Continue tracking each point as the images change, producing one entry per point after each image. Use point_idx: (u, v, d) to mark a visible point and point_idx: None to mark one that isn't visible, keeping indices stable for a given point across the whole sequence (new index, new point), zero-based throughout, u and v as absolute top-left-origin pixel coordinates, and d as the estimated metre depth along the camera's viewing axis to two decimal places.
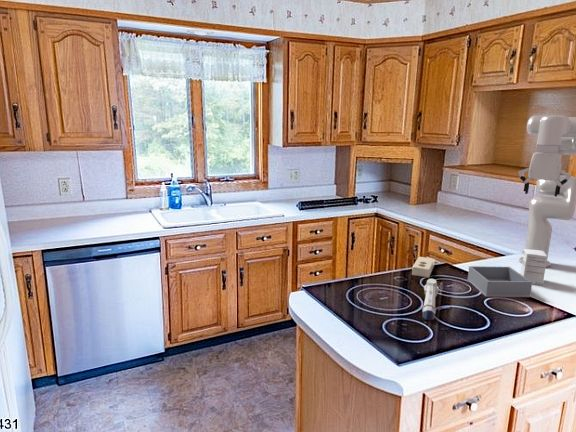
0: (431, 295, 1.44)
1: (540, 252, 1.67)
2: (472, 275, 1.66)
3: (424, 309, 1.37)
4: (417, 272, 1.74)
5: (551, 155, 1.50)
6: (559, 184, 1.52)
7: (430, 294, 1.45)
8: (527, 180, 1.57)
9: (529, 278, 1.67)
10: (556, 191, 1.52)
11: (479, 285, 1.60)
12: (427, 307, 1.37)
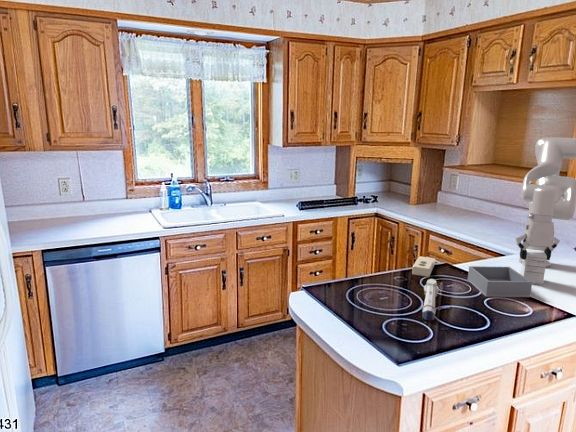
0: (431, 295, 1.44)
1: (540, 252, 1.67)
2: (472, 275, 1.66)
3: (424, 309, 1.37)
4: (417, 271, 1.75)
5: None
6: None
7: (430, 294, 1.45)
8: None
9: (529, 278, 1.67)
10: None
11: (479, 285, 1.60)
12: (427, 307, 1.37)
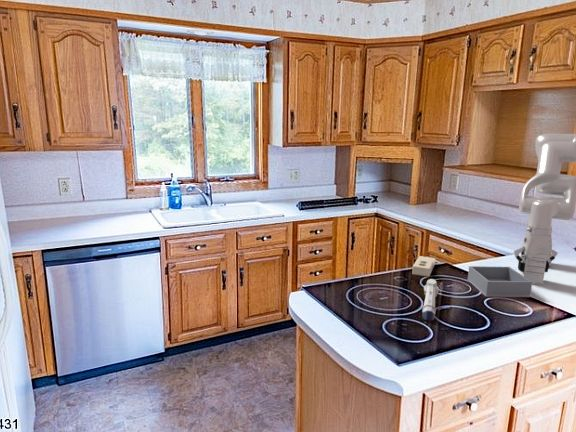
0: (431, 295, 1.44)
1: None
2: (472, 275, 1.66)
3: (424, 309, 1.37)
4: (417, 271, 1.75)
5: None
6: None
7: (430, 294, 1.45)
8: None
9: (529, 278, 1.67)
10: None
11: (479, 285, 1.60)
12: (427, 307, 1.36)
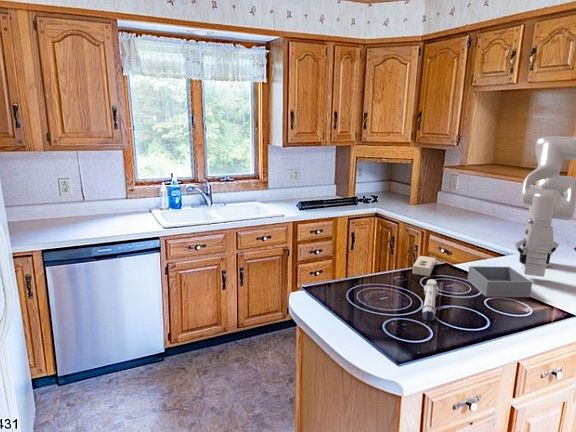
0: (431, 296, 1.44)
1: None
2: (472, 275, 1.66)
3: (424, 310, 1.36)
4: (418, 271, 1.76)
5: None
6: None
7: (430, 295, 1.44)
8: None
9: (530, 270, 1.67)
10: None
11: (479, 285, 1.60)
12: (427, 308, 1.36)
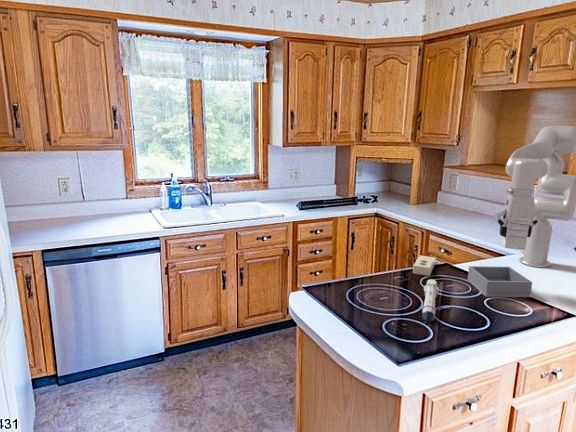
0: (431, 296, 1.44)
1: None
2: (472, 275, 1.66)
3: (424, 310, 1.36)
4: (418, 270, 1.76)
5: None
6: None
7: (430, 295, 1.44)
8: None
9: (511, 243, 1.57)
10: None
11: (479, 285, 1.60)
12: (427, 308, 1.36)
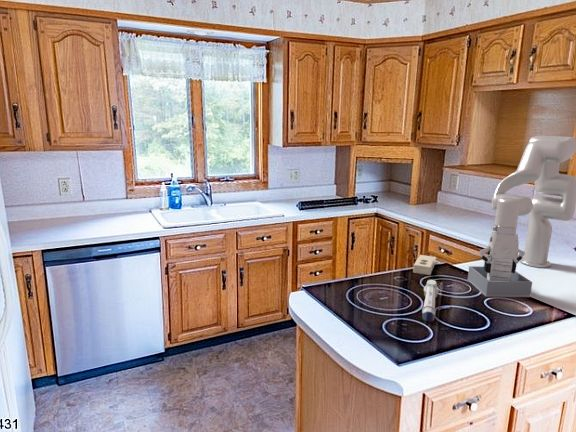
0: (431, 296, 1.43)
1: None
2: (472, 275, 1.66)
3: (424, 310, 1.36)
4: (418, 270, 1.77)
5: None
6: None
7: (430, 295, 1.44)
8: None
9: None
10: None
11: (479, 285, 1.60)
12: (427, 308, 1.36)
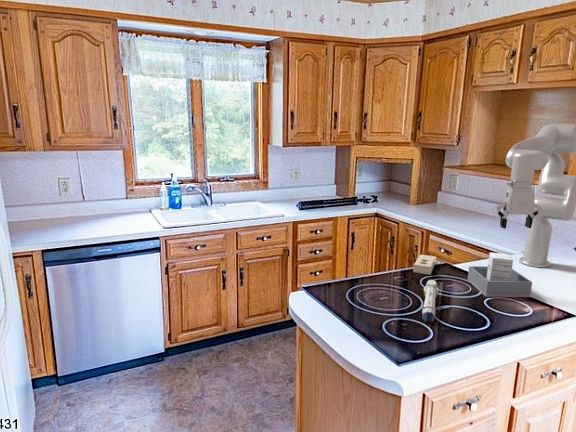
0: (431, 296, 1.43)
1: (506, 256, 1.59)
2: (472, 275, 1.66)
3: (424, 311, 1.36)
4: (419, 269, 1.78)
5: None
6: None
7: (430, 295, 1.44)
8: None
9: None
10: None
11: (479, 285, 1.60)
12: (427, 309, 1.36)
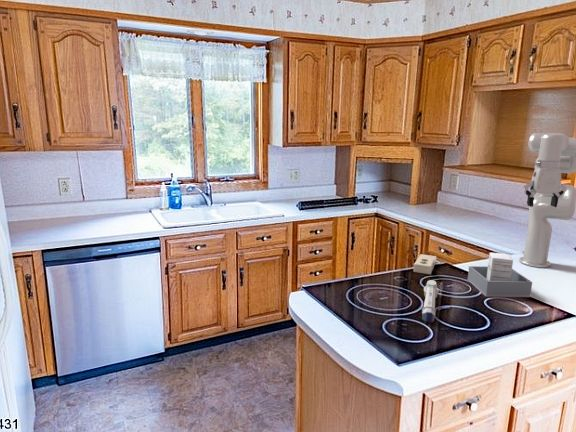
0: (431, 297, 1.43)
1: (506, 256, 1.59)
2: (472, 275, 1.66)
3: (424, 311, 1.35)
4: (419, 269, 1.78)
5: None
6: None
7: (430, 296, 1.44)
8: None
9: None
10: None
11: (479, 285, 1.60)
12: (427, 309, 1.35)
